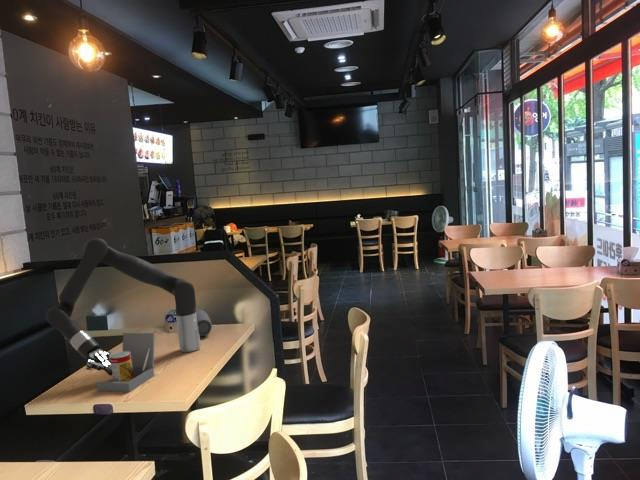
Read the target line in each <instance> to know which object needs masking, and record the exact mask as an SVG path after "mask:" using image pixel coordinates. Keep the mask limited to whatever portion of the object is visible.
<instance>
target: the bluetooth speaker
mask: <svg viewBox="0 0 640 480" xmlns="http://www.w3.org/2000/svg"><path fill="white" fill-rule="evenodd" d="M196 317H197V325H198V327H199V335H200V336H206V335H208V334H210V333H211V331H212V327H213V326H212V321H211V318H210V316H209V314H208V313H206V311H205V310H203V309H196Z"/></svg>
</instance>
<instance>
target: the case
mask: <svg viewBox="0 0 640 480" xmlns="http://www.w3.org/2000/svg"><path fill="white" fill-rule="evenodd" d="M122 334H123V335H122V351H129V352H131V359H132V366H133V373H134V379H132V380H131V381H129V382H113V381H101V380H99V381H96V382H95V383H96V388H97V389H96V390H97V391H98V392H121V393H131V392H132V391H134V390H135V389H137V388H138V387H140V386H141V385H143V384H144V383H146V382H147V381H149V380H150V379H152V378H153V377H155V370H154V368H155V339H156V337H155V335H156V334H155V332H153V333H152V332H123V333H122Z"/></svg>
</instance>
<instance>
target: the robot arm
mask: <svg viewBox="0 0 640 480" xmlns="http://www.w3.org/2000/svg"><path fill="white" fill-rule="evenodd" d="M82 247H83V248H82V250H83V251H82V252H83V255H82V258H81V260H80V262H79V263H78V266H77V267H76V269H75V270H74V271H73V273H72V274H71V276H70V277H69V278H68V280H67V282H66V284H65V285H64V287H63V288H62V290H61V292H60V294H59V295H58V300H59V302H58V305H57V306H52V307H51V308H49V309H48V310H47V311H46V313H45V319H46V321H47V322H48V324H50V325H51V327H53V328H54V329H55V330H57V332H59V333H60V334H61V335H62V336H63V337H64V338H65V339H66V340H67V341H68V342H69V343H70V344H71V346H72V348H74V349H75V351H77V352H78V353H79V354H80V356H81V357H82V358H84V359H86V361H87V363H86V365H85V367H86V368H87V367H89V368H90V369H92V370H96V371H104V372H105V373H106V374H107V375H109V376H110V377H113V375H112V369H111V362H110V355H112V351H111V350H108V351H104V349H101V347H100V344H99V343H98V342H97V341H96V340H95V339H94V337H92V336H91V335H90V334H89V333H88V332H87V331H85V329H84V328H83V327H82V326H81V325H80V324H79V323H78V322H76V321H75V320H74V321H73V320H72V319H71V318H72V315H73V311H74V309H75V305H76V303H77V301H78V299H79V297H80V296H81V295H82V292H83V290H84V289H85V287H86V285H87V283H88V281H89V279H90V277H91V275H92V274H93V272H94V270H95V269H96V268H97V266H98V265H99V264H100V263H102V264H104V265H107V266H109V267H111V268H113V269H116V270H117V271H118V272H120V273H123V274H124V275H126V276H128V277H130V278H132V279H133V280H136V281H137V282H138V281H139V282H141V283H144V284H146V285H150V286H154V287H158V288H160V289H162V290H164V291H166V292H167V293H170V294H171V295H173V296H174V301H175V310H174V311H175V318H176V319H175V320H176V328H177V336H178V343H179V351H181V353H183V352H184V353H188V352H189V353H191V352H195V351H197V350H201V347H202V346H201V345H202V343H201V337H200V336H201V335H199V327H198V325H197V317H196V311H197V309H196V308H197V302H196V300H197V299H196V290H195V286H194V285H193V284H192V282H190V281H189V280H187V279H186V278H185V279H184V278H180V277H178V276H175V275H172V274H170V273H168V272H165V271H164V270H162V269H161V268H160V267H158V266H156V265H154V264H152V263H151V262H149V261H147V260H146V259H145V260H144V259H142V258H139V257H137V256H134V255H132V254H128V253H124V252H122V251H121V252H120V251H118V250H116V249H114V248H112V247H110V246H109V244H108V243H107V242H106V240H104V239H102V238H99V237H95V238H91V239H89V240H86V242H85V243H84V245H83V246H82ZM96 366H97V367H96Z"/></svg>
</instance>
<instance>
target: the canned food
mask: <svg viewBox="0 0 640 480" xmlns="http://www.w3.org/2000/svg"><path fill="white" fill-rule="evenodd" d="M110 362H111V364H110V365H111V369H112V382H129V381H131V380H132V379H134V378H135V376H134V373H133V366H132V359H131V352H129V351H123V350H121V351H117V352H113V353H111V355H110Z"/></svg>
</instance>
